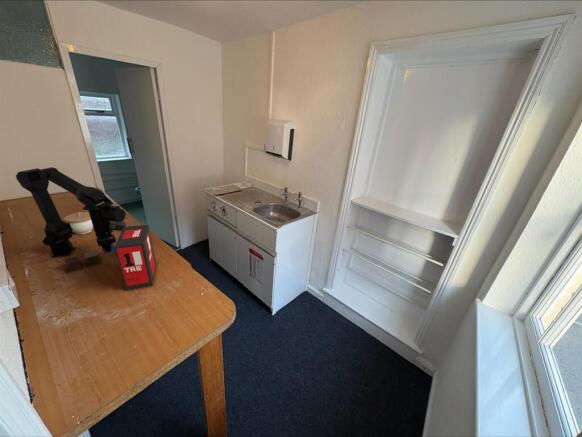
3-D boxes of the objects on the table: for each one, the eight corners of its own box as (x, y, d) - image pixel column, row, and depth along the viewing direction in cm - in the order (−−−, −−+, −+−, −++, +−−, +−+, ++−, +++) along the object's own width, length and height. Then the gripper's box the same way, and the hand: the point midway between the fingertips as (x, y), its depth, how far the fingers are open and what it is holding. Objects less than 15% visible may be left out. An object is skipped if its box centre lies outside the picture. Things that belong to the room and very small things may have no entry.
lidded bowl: (69, 238, 121) (62, 219, 116) (68, 229, 129) (62, 211, 125) (99, 232, 129) (94, 214, 124) (97, 224, 137) (92, 206, 132)
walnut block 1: (68, 272, 98) (64, 263, 96) (67, 267, 101) (64, 258, 99) (81, 268, 101) (78, 260, 99) (81, 263, 104) (78, 255, 102)
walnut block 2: (88, 266, 102) (85, 258, 100) (87, 262, 105) (84, 253, 103) (100, 263, 105) (97, 255, 103) (99, 258, 108) (96, 250, 106)
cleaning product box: (152, 285, 95) (143, 243, 86) (126, 290, 91) (114, 247, 83) (156, 262, 108) (148, 224, 100) (133, 266, 105) (123, 227, 97)
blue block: (104, 254, 105) (101, 246, 103) (102, 250, 108) (100, 242, 106) (115, 251, 108) (113, 243, 106) (114, 247, 110) (112, 239, 109)
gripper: (126, 222, 100) (133, 252, 106) (118, 208, 112) (125, 236, 118) (92, 229, 93) (103, 261, 99) (88, 213, 105) (97, 242, 111)
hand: (108, 249), depth 107 cm, fingers closed on blue block, 4 cm apart
